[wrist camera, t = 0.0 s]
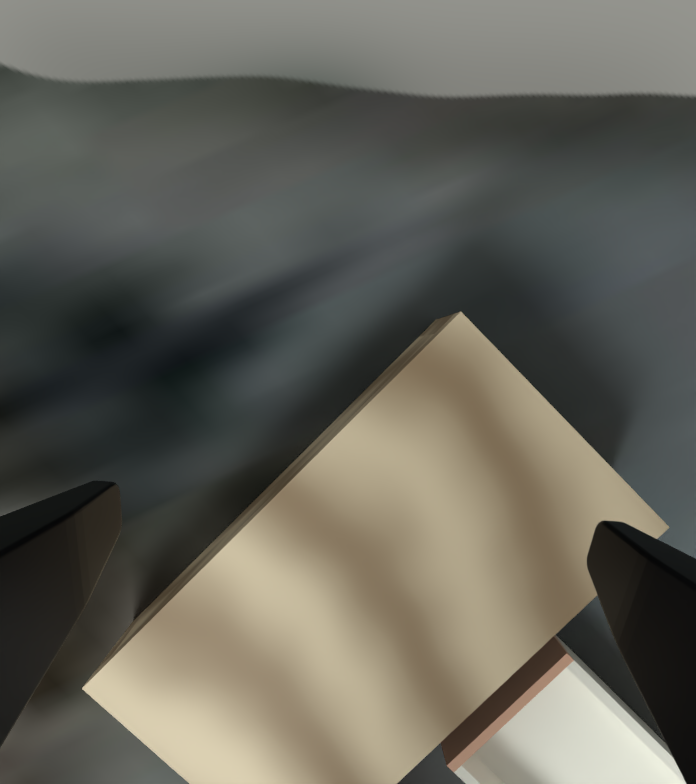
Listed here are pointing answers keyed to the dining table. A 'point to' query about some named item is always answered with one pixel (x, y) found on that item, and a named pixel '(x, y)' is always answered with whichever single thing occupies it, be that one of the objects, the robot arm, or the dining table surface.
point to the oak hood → (375, 581)
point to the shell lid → (557, 731)
